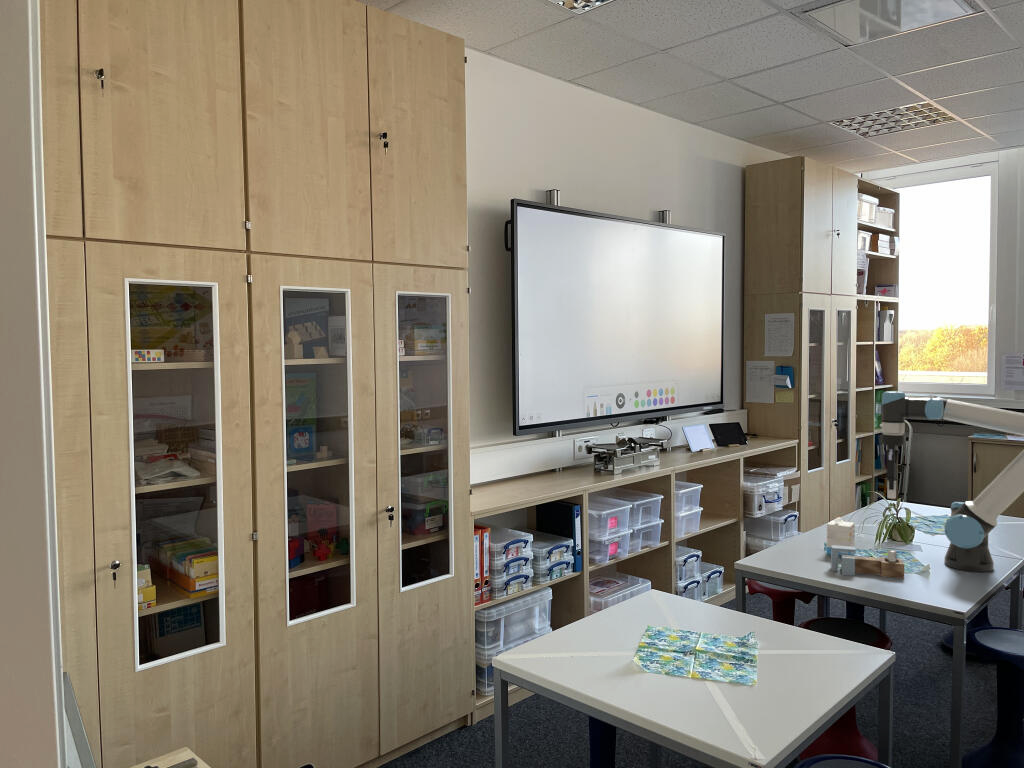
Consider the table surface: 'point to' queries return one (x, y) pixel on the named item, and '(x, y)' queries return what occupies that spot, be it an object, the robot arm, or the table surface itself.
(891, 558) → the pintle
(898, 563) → the link
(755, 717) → the table surface
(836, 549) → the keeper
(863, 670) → the table surface
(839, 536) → the ink box
